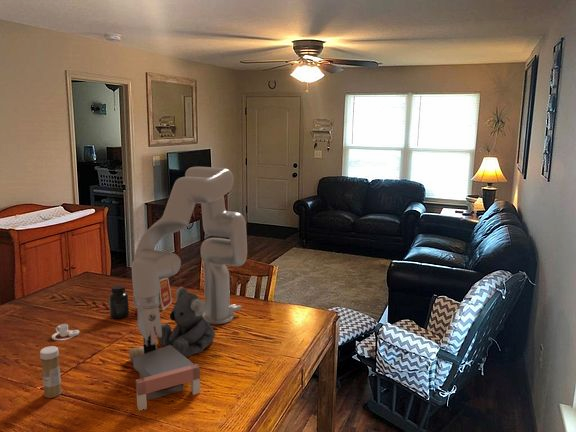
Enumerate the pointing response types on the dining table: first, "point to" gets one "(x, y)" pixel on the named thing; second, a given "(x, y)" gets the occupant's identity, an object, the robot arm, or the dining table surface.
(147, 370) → the slab
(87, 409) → the dining table surface
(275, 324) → the dining table surface
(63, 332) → the white looped ring piece
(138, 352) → the track
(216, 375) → the dining table surface
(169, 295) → the milk carton
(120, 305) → the supplement bottle
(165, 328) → the koala plush
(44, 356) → the sprinkles bottle
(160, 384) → the pink u-shaped frame
